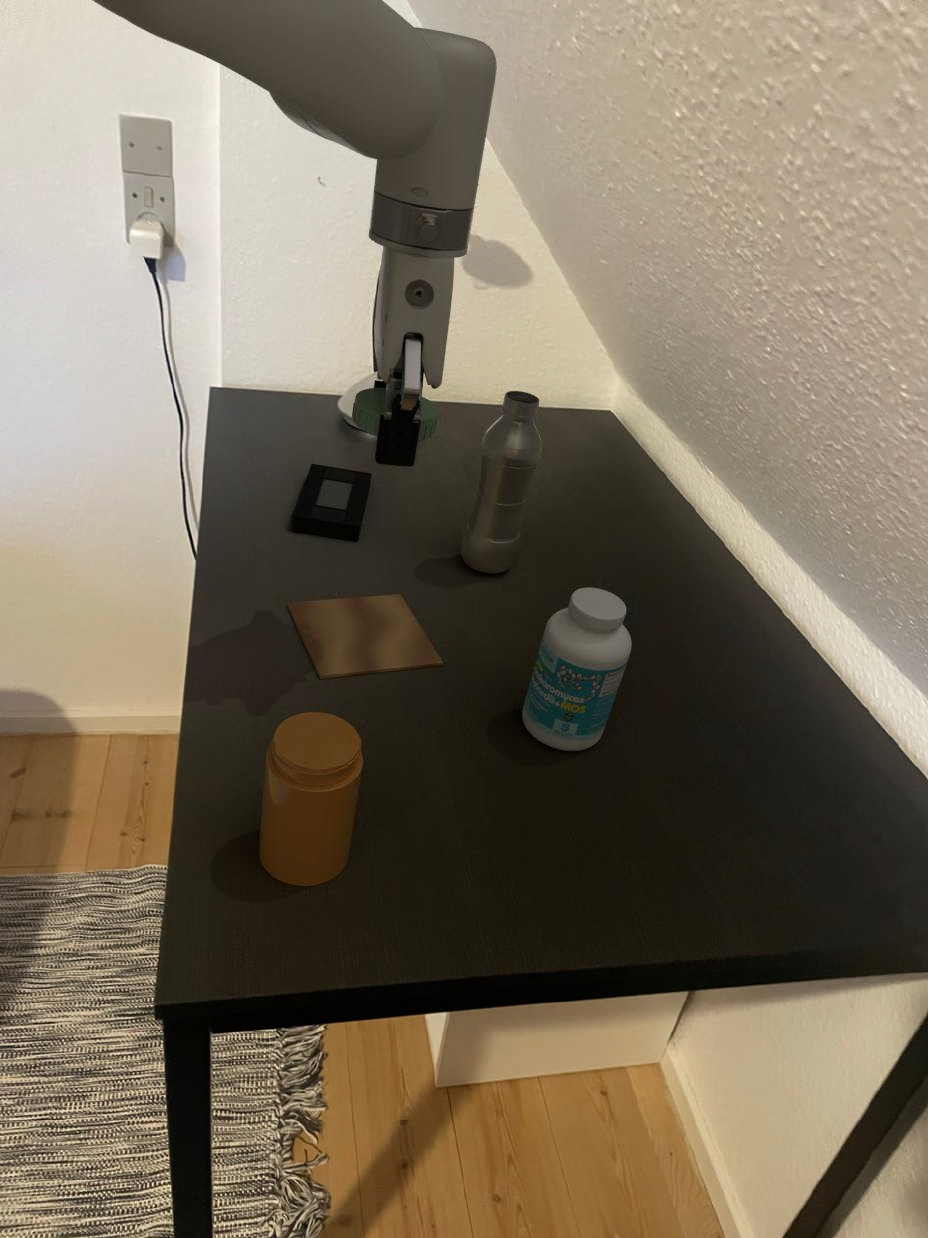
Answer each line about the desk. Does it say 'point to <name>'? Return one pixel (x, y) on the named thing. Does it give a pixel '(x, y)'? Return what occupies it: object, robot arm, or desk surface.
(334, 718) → the jam jar
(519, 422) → the plastic bottle
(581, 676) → the pill bottle
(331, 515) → the vhs tape
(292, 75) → the robot arm
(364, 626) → the coaster
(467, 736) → the desk surface
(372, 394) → the jam lid
